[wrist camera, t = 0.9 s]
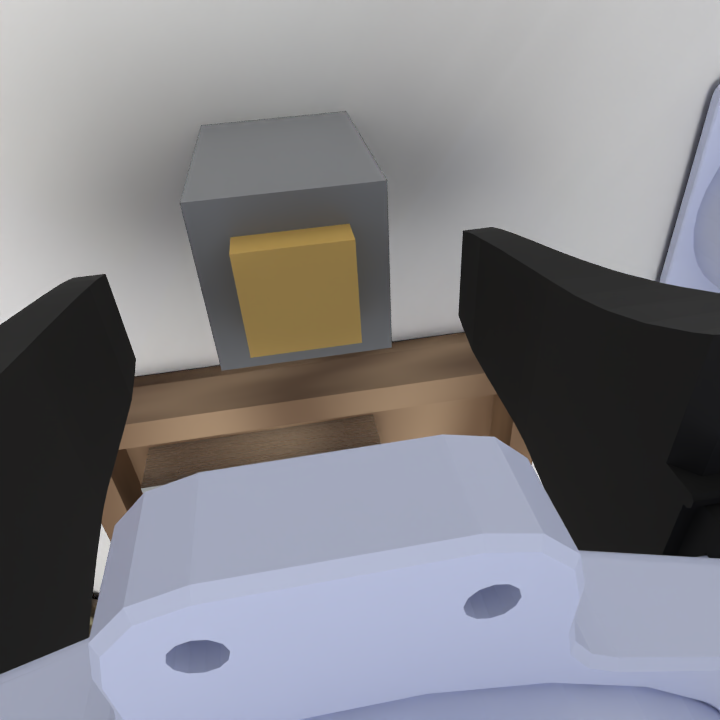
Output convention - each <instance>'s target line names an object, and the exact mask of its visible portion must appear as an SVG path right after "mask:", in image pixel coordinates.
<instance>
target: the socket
mask: <svg viewBox="0 0 720 720" xmlns="http://www.w3.org/2000/svg"><path fill="white" fill-rule="evenodd" d="M378 444H381V442H380V438H379V435H378V431H377V427H376V423H375V420H374V416H373V415H366V416H359V417H353V418H346V419H339V420H332V421H325V422H319V423H312V424H305V425H298V426H292V427H285V428H278V429H271V430H264V431H258V432H251V433H244V434H237V435H230V436H224V437H217V438H210V439H203V440H197V441H190V442H183V443H176V444H169V445H163V446H156V447H149V450H148V455H147V460H146V465H145V470H144V475H143V480H142V485H141V490H142V493H144V492H146V491H149V490H152V489H155V488H157V487H160V486H163V485H166V484H168V483H171V482H174V481H177V480H180V479H182V478H185V477H188V476H191V475H193V474H196V473H199V472H205V471H212V470H218V469H225V468H231V467H237V466H244V465H250V464H257V463H263V462H269V461H276V460H282V459H289V458H295V457H301V456H308V455H314V454H321V453H327V452H333V451H340V450H346V449H353V448H359V447H365V446H372V445H378Z"/></svg>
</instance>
